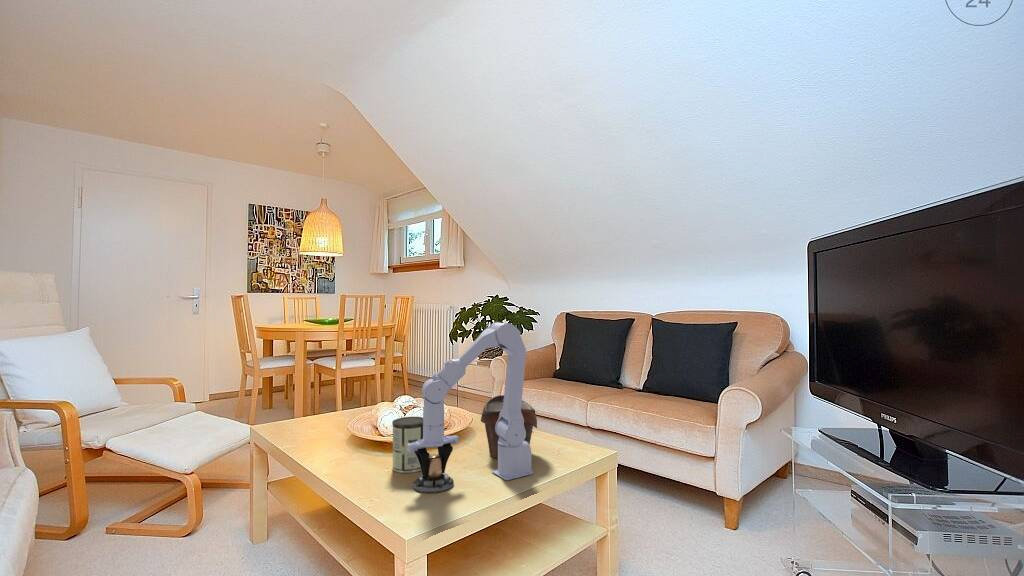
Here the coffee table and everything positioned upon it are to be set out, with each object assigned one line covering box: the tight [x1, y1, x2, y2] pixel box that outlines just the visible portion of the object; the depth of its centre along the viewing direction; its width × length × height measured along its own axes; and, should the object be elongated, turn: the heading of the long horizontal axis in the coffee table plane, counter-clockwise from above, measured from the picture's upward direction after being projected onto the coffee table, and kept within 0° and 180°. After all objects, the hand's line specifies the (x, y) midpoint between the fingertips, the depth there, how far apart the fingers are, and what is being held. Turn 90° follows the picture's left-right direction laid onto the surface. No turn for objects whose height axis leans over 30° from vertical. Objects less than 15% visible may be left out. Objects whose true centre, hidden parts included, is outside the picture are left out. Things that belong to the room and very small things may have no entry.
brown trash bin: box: [480, 394, 538, 459], centre depth 156 cm, size 18×20×18 cm
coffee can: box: [391, 416, 423, 474], centre depth 144 cm, size 10×10×14 cm
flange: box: [412, 471, 455, 494], centre depth 129 cm, size 11×11×2 cm
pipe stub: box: [426, 453, 442, 481], centre depth 129 cm, size 4×4×7 cm
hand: (433, 474), depth 129 cm, fingers closed on pipe stub, 4 cm apart
